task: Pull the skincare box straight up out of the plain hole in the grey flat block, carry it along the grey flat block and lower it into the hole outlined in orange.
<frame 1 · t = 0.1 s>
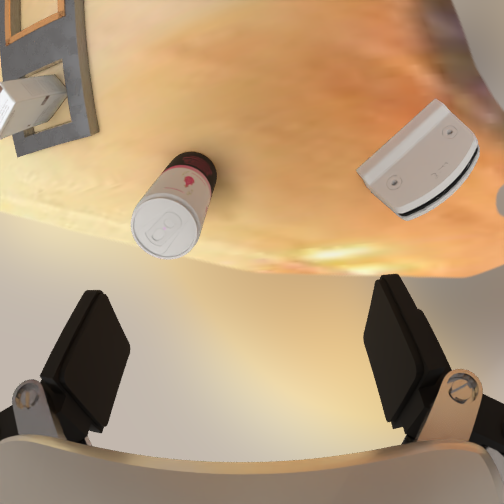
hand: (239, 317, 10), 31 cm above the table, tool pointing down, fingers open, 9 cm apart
white curved block: (411, 152, 38), on the table
skincare box: (51, 96, 33), resting in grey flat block
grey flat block: (44, 46, 28), on the table
beverage can: (192, 174, 40), on the table
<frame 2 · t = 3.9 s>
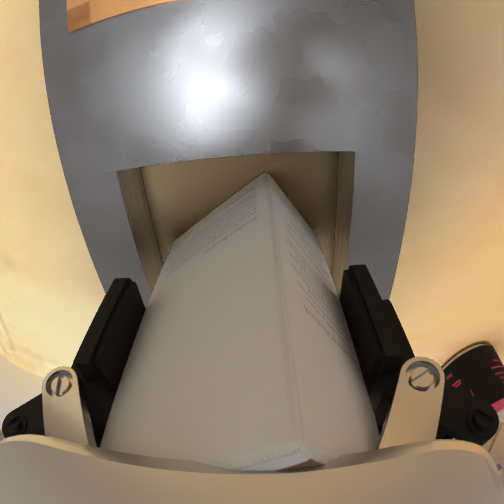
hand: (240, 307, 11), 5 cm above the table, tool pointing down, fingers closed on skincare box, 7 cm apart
skincare box: (244, 229, 15), resting in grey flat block, touching gripper
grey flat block: (227, 62, 11), on the table
beverage can: (463, 363, 23), on the table
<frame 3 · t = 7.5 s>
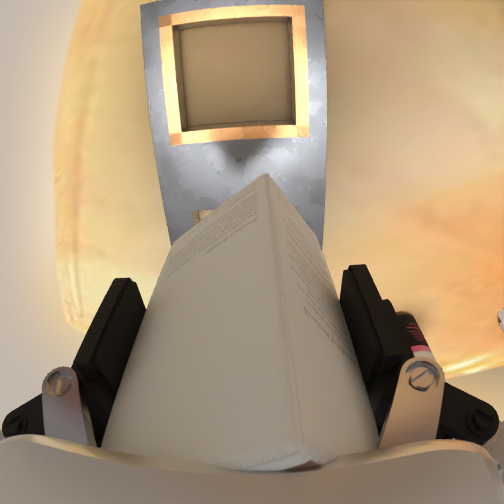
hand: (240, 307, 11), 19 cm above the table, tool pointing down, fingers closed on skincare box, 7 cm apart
skincare box: (244, 230, 16), point 14 cm above the table, touching gripper
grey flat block: (241, 160, 27), on the table
beverage can: (393, 327, 39), on the table
when the fingers open (6 cm above the table, at t = 11.6 s): skincare box stays where it is, resting in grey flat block.
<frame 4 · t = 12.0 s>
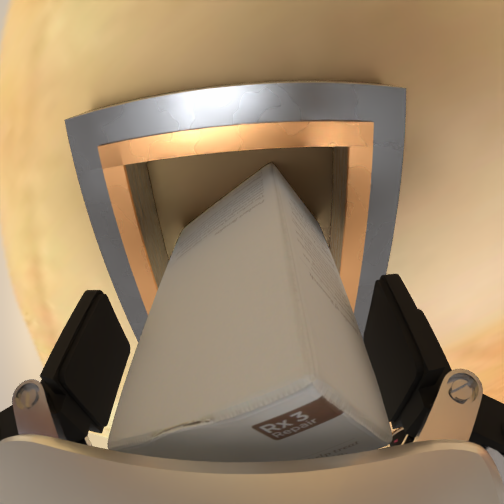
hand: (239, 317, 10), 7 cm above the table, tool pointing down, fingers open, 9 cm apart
skincare box: (249, 218, 16), resting in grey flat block
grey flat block: (255, 331, 20), on the table
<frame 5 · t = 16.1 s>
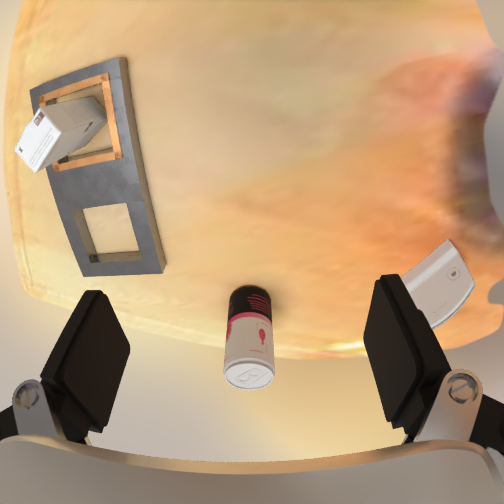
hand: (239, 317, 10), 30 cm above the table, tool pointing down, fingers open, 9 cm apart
white curved block: (420, 279, 48), on the table
skincare box: (89, 119, 34), resting in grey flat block
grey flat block: (98, 176, 38), on the table
beverage can: (250, 299, 50), on the table
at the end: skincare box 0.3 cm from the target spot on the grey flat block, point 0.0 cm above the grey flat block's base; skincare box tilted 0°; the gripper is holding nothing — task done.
